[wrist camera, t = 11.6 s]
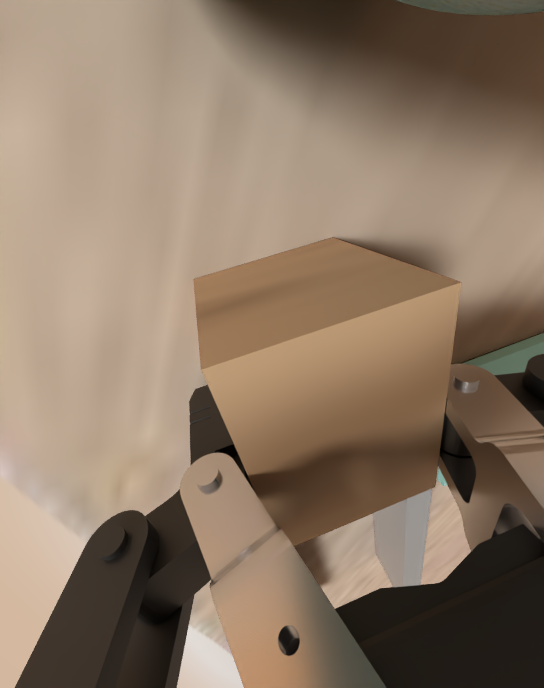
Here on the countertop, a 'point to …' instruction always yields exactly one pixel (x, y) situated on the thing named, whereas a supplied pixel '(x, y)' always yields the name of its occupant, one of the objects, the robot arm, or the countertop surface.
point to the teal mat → (507, 362)
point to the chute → (403, 538)
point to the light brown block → (329, 378)
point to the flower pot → (480, 6)
